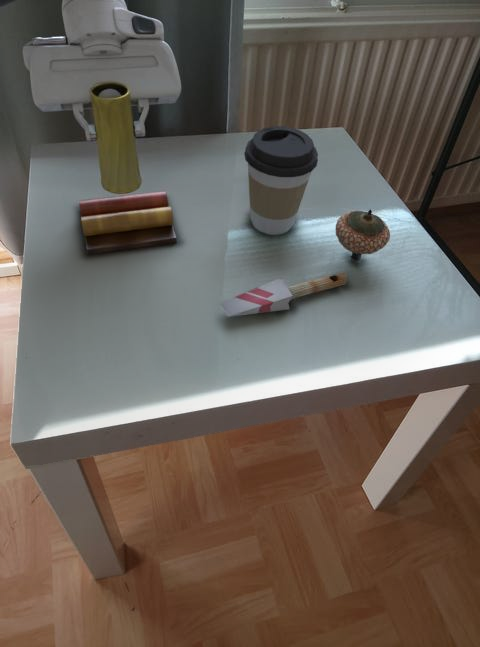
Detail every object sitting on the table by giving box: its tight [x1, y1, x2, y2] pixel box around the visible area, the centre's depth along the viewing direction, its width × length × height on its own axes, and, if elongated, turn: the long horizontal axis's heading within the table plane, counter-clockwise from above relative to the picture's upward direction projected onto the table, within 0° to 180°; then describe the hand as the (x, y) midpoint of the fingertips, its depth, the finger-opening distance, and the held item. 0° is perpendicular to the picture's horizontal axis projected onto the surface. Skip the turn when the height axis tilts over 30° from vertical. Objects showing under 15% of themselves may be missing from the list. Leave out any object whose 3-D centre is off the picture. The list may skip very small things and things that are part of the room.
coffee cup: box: [243, 125, 319, 236], centre depth 81 cm, size 11×11×15 cm
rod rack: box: [78, 190, 178, 255], centre depth 82 cm, size 14×12×4 cm
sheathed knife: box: [219, 272, 348, 318], centre depth 73 cm, size 4×3×20 cm
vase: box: [90, 82, 143, 195], centre depth 72 cm, size 6×6×14 cm
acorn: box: [335, 208, 391, 262], centre depth 78 cm, size 8×8×10 cm
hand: (116, 137), depth 71 cm, fingers closed on vase, 5 cm apart
